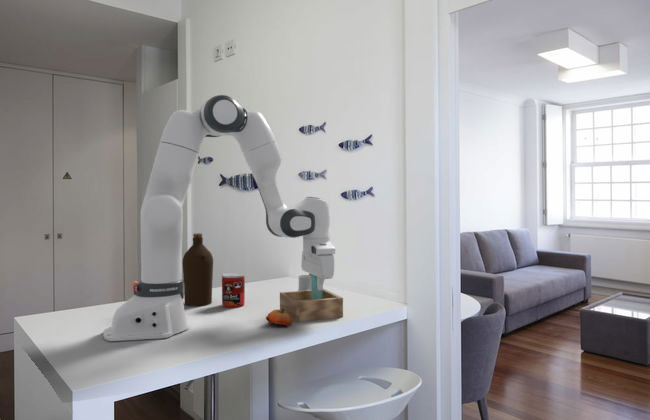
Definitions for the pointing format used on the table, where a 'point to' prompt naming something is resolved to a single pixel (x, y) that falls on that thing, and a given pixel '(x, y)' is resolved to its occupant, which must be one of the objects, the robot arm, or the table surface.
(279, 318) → the tomato
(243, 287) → the canned food
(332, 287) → the table surface
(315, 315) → the box
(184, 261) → the olive oil
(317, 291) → the peg
